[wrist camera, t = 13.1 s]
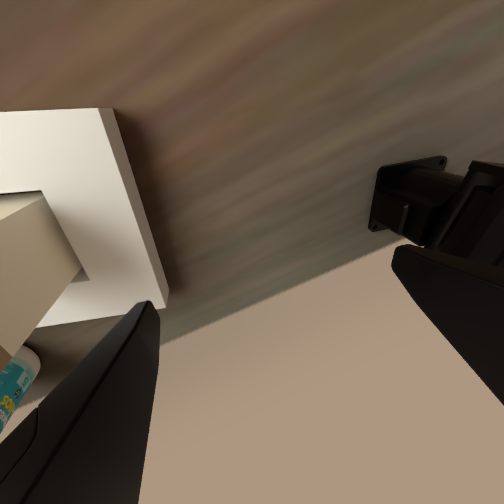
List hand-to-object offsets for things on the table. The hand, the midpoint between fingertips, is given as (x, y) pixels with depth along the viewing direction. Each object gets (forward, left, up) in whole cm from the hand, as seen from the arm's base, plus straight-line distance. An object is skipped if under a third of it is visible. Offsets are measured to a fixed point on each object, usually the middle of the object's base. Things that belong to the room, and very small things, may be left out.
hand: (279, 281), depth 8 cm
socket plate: (+16, +1, -13) cm, 21 cm away
